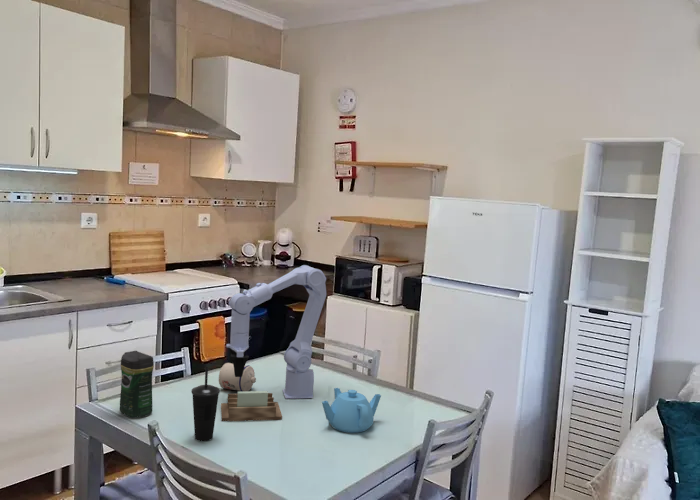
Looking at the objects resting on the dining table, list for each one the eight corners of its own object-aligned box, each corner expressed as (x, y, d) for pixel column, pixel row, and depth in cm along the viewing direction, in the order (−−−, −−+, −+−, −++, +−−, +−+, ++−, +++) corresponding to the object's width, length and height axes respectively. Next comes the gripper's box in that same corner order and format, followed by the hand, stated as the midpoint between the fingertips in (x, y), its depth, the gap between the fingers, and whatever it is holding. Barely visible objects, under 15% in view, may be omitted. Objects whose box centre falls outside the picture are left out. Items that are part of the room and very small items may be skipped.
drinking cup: (223, 435, 168) (226, 366, 166) (208, 445, 161) (211, 373, 159) (199, 429, 170) (202, 361, 168) (184, 440, 163) (186, 369, 161)
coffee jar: (156, 414, 180) (158, 354, 177) (133, 421, 173) (134, 359, 171) (138, 405, 185) (140, 347, 183) (115, 411, 179) (116, 351, 177)
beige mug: (214, 384, 200) (245, 390, 196) (223, 358, 204) (253, 363, 200) (230, 393, 210) (259, 399, 206) (238, 368, 214) (267, 373, 210)
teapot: (317, 429, 176) (319, 394, 175) (333, 412, 191) (335, 379, 189) (366, 439, 172) (369, 403, 171) (379, 420, 186) (382, 387, 185)
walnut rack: (277, 404, 193) (278, 392, 193) (282, 419, 182) (282, 407, 181) (220, 406, 189) (221, 393, 189) (221, 421, 177) (222, 408, 177)
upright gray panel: (266, 413, 183) (267, 391, 183) (266, 415, 182) (267, 392, 181) (236, 413, 181) (237, 391, 180) (236, 415, 180) (237, 393, 179)
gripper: (226, 325, 197) (224, 365, 198) (227, 337, 183) (225, 380, 184) (248, 325, 198) (246, 365, 200) (251, 337, 184) (248, 380, 186)
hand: (237, 372), depth 192 cm, fingers open, 7 cm apart
